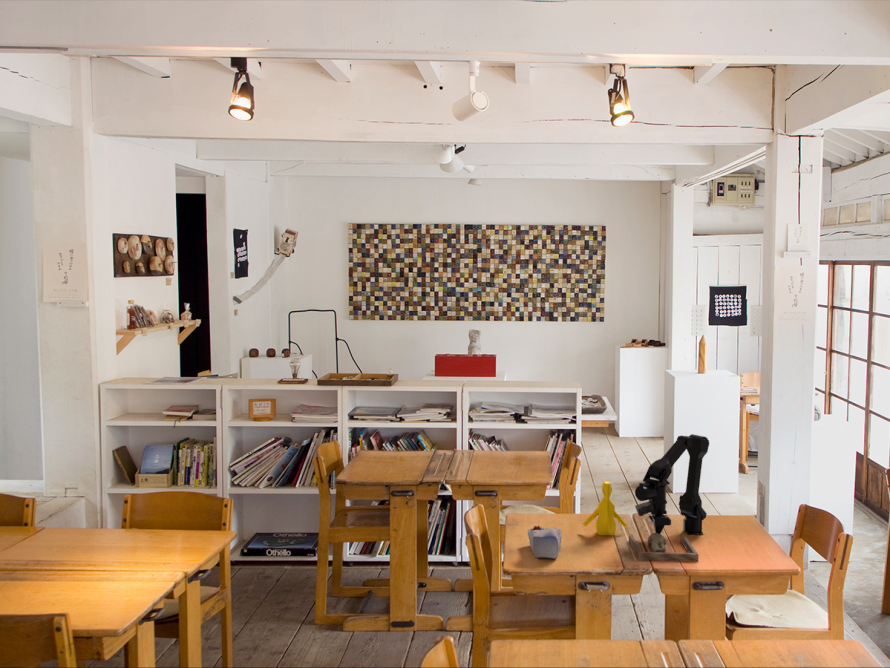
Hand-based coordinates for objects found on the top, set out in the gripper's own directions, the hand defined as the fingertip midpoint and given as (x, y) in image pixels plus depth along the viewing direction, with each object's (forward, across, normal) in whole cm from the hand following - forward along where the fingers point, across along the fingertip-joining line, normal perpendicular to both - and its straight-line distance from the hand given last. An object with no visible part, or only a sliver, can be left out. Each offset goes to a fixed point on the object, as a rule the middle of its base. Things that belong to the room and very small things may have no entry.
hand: (657, 536), depth 293 cm
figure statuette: (+3, -8, -19) cm, 21 cm away
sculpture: (+3, +9, -2) cm, 9 cm away
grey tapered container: (+3, +13, -44) cm, 46 cm away
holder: (+2, +9, 0) cm, 9 cm away
